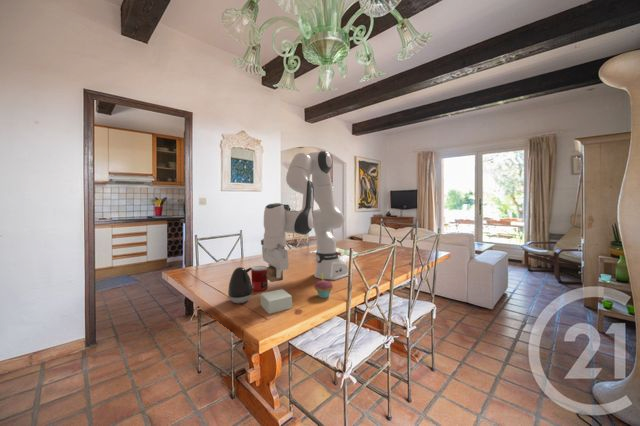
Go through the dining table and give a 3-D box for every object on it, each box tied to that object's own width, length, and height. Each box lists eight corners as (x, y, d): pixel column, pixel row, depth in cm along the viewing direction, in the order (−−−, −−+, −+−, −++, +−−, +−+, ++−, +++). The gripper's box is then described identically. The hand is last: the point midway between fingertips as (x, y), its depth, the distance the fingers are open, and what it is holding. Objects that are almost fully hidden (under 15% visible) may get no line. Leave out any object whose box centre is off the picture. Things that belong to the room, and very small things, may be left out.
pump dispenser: (256, 302, 111) (255, 268, 110) (231, 308, 105) (230, 272, 105) (249, 295, 120) (248, 263, 119) (226, 299, 114) (225, 266, 113)
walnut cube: (278, 276, 109) (278, 265, 109) (282, 280, 105) (282, 268, 105) (267, 278, 106) (266, 267, 106) (271, 282, 102) (271, 269, 102)
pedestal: (282, 300, 113) (282, 289, 113) (292, 308, 105) (292, 296, 104) (260, 305, 108) (260, 293, 108) (269, 314, 100) (268, 301, 99)
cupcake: (329, 300, 112) (329, 273, 111) (311, 298, 115) (311, 272, 114) (335, 293, 120) (334, 268, 120) (318, 291, 123) (318, 267, 122)
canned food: (264, 292, 123) (263, 270, 122) (248, 291, 124) (248, 269, 124) (270, 287, 130) (269, 265, 130) (255, 286, 132) (255, 265, 131)
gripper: (292, 245, 98) (292, 281, 98) (273, 239, 115) (273, 269, 116) (277, 247, 94) (277, 284, 95) (259, 240, 112) (259, 271, 112)
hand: (275, 275), depth 106 cm, fingers closed on walnut cube, 5 cm apart
